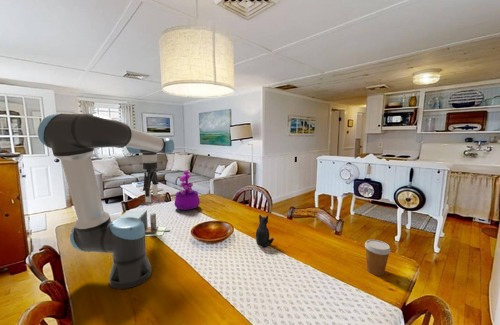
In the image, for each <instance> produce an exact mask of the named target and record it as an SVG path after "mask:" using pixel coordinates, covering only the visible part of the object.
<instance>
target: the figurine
mask: <svg viewBox="0 0 500 325" xmlns="http://www.w3.org/2000/svg"><path fill="white" fill-rule="evenodd" d="M258 219H259V220H258V221H259V223H258V227H257V229H256V232H255V242H256V243H257V244H258V246H260V247H262V248H268V247H269V246H270V245H271V244H272V243H273V241H274V240H275V239H274V238H273V237H272V238H270V230H269V228H268V226H267V224H268V223H269V215H265V216H262V215H261V214H259V215H258Z"/></svg>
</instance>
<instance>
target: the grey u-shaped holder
mask: <svg viewBox="0 0 500 325" xmlns="http://www.w3.org/2000/svg"><path fill="white" fill-rule="evenodd" d="M149 216H150V219H149V221H150V226H148V227H144V228H145V234H147V233H155V232H156V230H157V229H158V228H159V226H157V214H156V213H155V212H154V213H153V212H152V213H150V214H149ZM140 220H141V219H140Z"/></svg>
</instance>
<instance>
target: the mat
mask: <svg viewBox="0 0 500 325" xmlns="http://www.w3.org/2000/svg"><path fill="white" fill-rule="evenodd" d="M167 228H168V227H166V226H164V227H163V226H162V227H160V226H158V229H157V230H167ZM164 234H165V232H155V233H147V234H145V237H160V236H163V235H164Z"/></svg>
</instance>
